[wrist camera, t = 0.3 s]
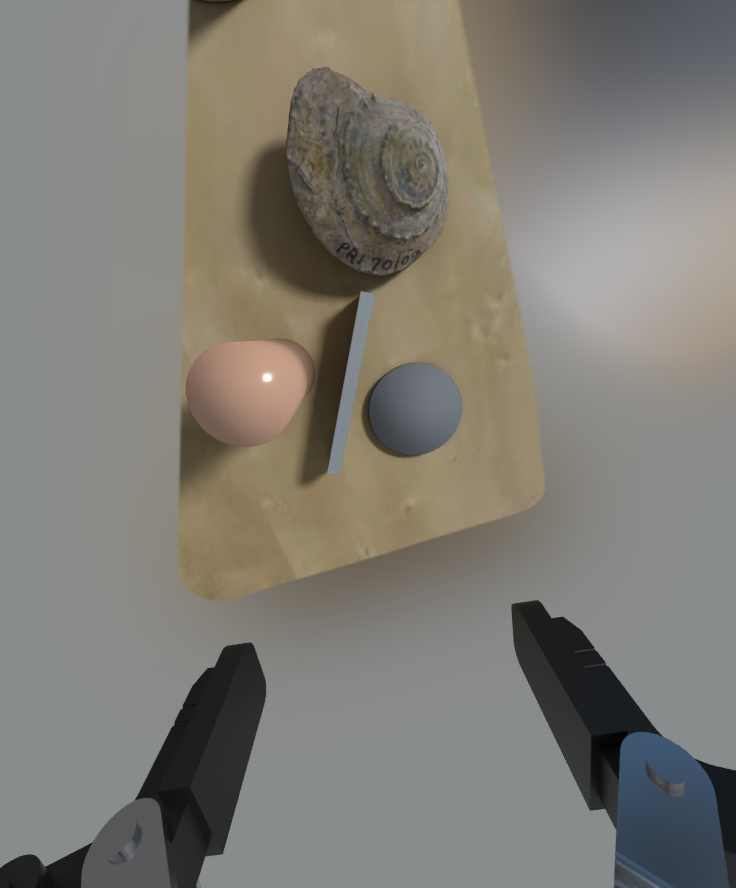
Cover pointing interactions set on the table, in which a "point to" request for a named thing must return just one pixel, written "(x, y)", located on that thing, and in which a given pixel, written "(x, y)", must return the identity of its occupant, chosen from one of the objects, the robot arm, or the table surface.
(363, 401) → the table surface
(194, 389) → the peach rounded cylinder
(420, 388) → the slate coaster
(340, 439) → the gray rectangular bar
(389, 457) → the table surface
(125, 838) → the robot arm
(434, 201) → the fossilized seashell
